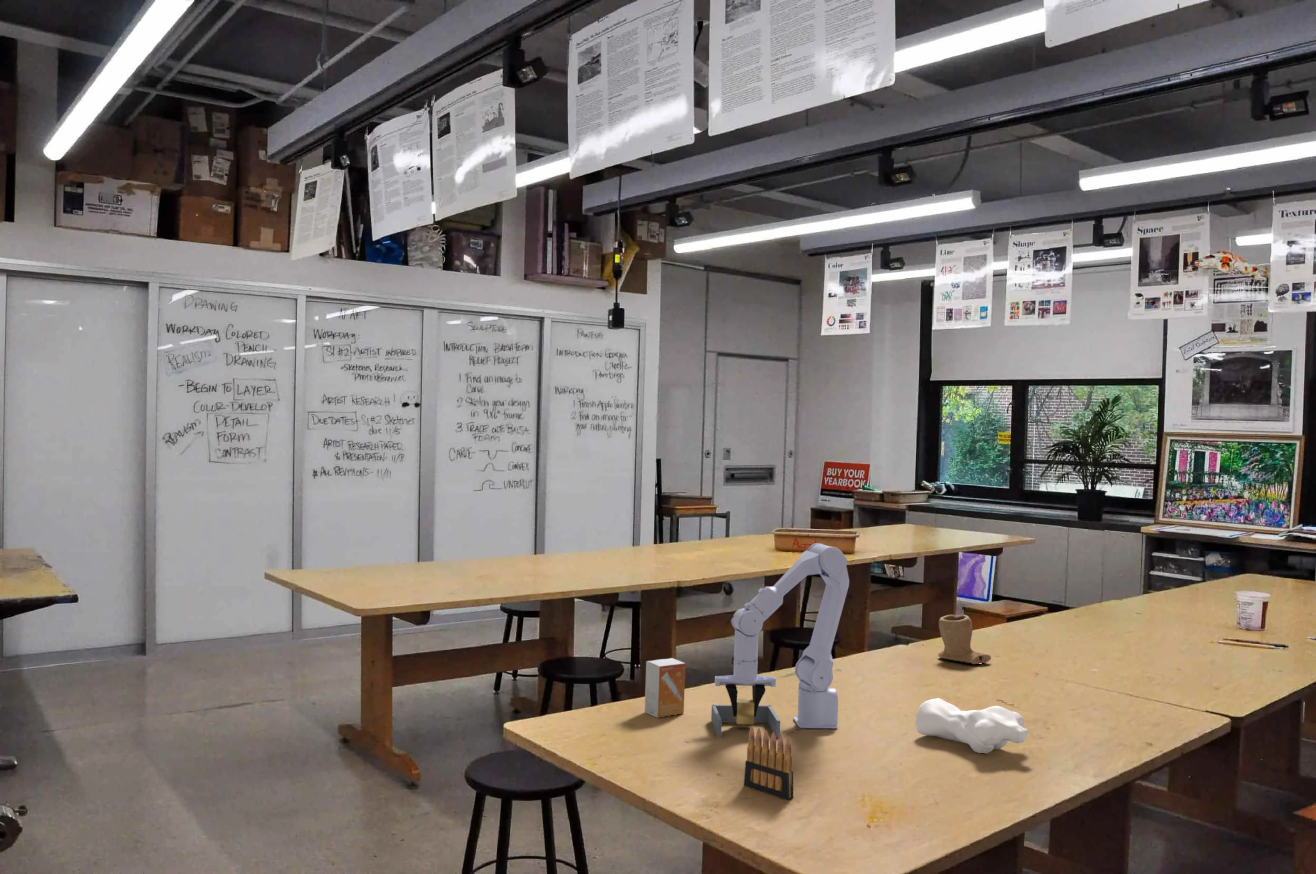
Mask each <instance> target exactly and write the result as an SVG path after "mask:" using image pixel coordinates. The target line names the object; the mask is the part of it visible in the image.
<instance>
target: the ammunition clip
mask: <svg viewBox="0 0 1316 874" xmlns="http://www.w3.org/2000/svg"><path fill="white" fill-rule="evenodd" d="M755 734H756V735H755ZM784 744H785V747H784ZM744 764H745V766H744V781H743V786H744V787H746V786H747V787H746V788H749V787H750V789H752V790H756V791H759V792H762V793H765V794H768V795H771V796H775V797H778V798H780V799H783V800H787V801H789V800H791V799H793V798H794V771H793V756H792V741H791V738H790V736H789V735H788V736H787V737H786V741H785V743H784V737H783V734H782V733H780V736H779V738H777V739H776V736H775V733H774V732H773V731H772V732H771V736H770V739H769V733H768V730H767V729H766V730H764V733H763V737H762V731H761V729H760V727H758V728H757V731H756V733H755V730H754V726H753V725H751V727H750V728H749V733H748V741H747V747H746V760H745V763H744Z"/></svg>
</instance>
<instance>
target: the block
mask: <svg viewBox="0 0 1316 874" xmlns="http://www.w3.org/2000/svg"><path fill="white" fill-rule="evenodd" d="M735 721H736V722H735V723H736V725H755V722H754V702H753V698H737V717H735Z"/></svg>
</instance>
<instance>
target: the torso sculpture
mask: <svg viewBox="0 0 1316 874" xmlns="http://www.w3.org/2000/svg"><path fill="white" fill-rule="evenodd" d="M915 718H916V719H915V724H914V725H915V730H916V731H917V733H918V734H919V735H920V734H921V735H924V736H934V737H937V738H941V739H946V740H950V741H955V742H958V743H959V742H960V743H965V744H966V745H967V744H968V745H969V746H970V747H971V749H972V750H973V751H974V752H975V753H977V752H978V753H977V754H979V753H987V754H989V753H991V752H992V751H993V750H994V749H998V750H1001V749H1002V748H1003V747H1004V746H1006V745H1007V743H1008V742H1011V743H1013V744H1021V743H1023V742H1025V740H1026V738H1027V736H1028V734H1029V729H1028V728H1025V727H1024V725H1025V719H1024V717H1023V716H1022V715H1021V714H1020V713H1018V712H1016V711H1011V710H1009V709H1007V708H1006V707H1002V706H1000V705H992V706H989V707H986V708H984V709H973V710H961V709H960V708H959V707H958V706H956V705H954V704H952V703H950V702H947V701H945V700H944V699H942V698H939V697H937V698H932V699H928V700H926V701H924V702H922V703H921V704H920V706H919V707H918V710H917V713H916V716H915Z"/></svg>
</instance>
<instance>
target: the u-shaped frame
mask: <svg viewBox="0 0 1316 874" xmlns="http://www.w3.org/2000/svg"><path fill="white" fill-rule="evenodd" d="M710 721H711V725H712V727H713V728H714V731H715V733H716V737H717V736H718V737H717V738H722V728H723V727H722V726H723V725H722V724H723V723H736V721H735V717H734V716H733V710H732V705H731V704H711V720H710ZM754 723H767V724H768V726H769V728H770V729H771V731H772V733H773V732H774V733H775V737H776V738H777V739H779V736H780V734H781V720H780V718H779V716H778V715H777V713H776V712H775V710H774V708H773V707H772V705H770V704H769V705H766V704H763V705H762V704H759V706H758V709H757V713H756V717H754Z"/></svg>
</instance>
